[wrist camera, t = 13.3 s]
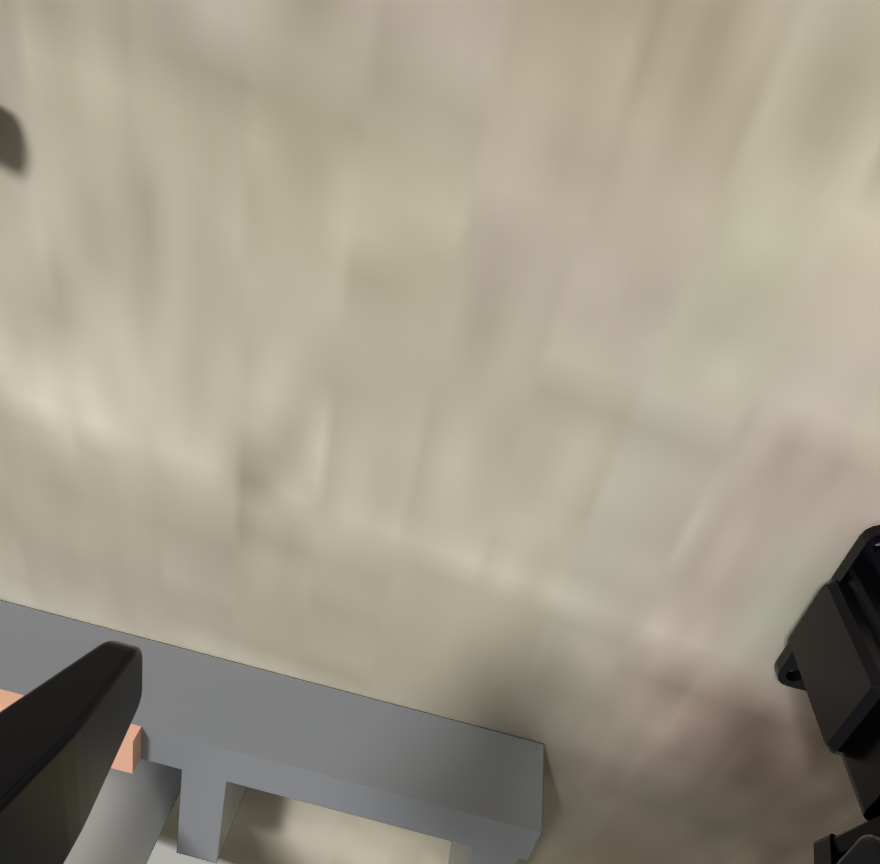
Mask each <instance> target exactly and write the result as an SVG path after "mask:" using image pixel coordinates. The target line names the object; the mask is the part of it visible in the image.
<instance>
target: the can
mask: <svg viewBox="0 0 880 864" xmlns="http://www.w3.org/2000/svg"><path fill="white" fill-rule="evenodd" d="M181 778H182V769H178V768H174V767H171V766H167V765H163V764H159V763H156V762H152V761H148V760H144V759H140V761H139V763H138V765H137V766H136V768H135V770H134V772H133V774H132V773H128V772H124V771H120V770H116V769H113V768H110V771H109V773H108V775H107V777H106V779H105V782H104V784H103V786H102V788H101V790H100V793H99V795H98V797H97V799H96V801H95V804H94V806H93V808H92V810H91V812H90V815H89V817H88V819H87V821H86V823H85V825H84V827H83V829H82V831H81V833H80V835H79V837H78V839H77V840H76V842H75V844H74V846H73V848H72V850H71V851H70V853H69V855H68V857H67V858H66V860H65V862H64V863H63V864H146V863H147V861H148V859H149V857H150V854H151V852H152V850H153V848H154V846H155V844H156V842H157V840H158V838H159V835H160V833H161V831H162V829H163V827H164V825H165V823H166V821H167V818H168V816H169V814H170V812H171V810H172V808H173V806H174V803H175V801H176V799H177V797H178V795H179V793H180V791H181Z"/></svg>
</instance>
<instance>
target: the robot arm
mask: <svg viewBox="0 0 880 864" xmlns="http://www.w3.org/2000/svg"><path fill="white" fill-rule="evenodd" d="M878 542H880V525H878V526H873V527H871V528H869V529H867V530H865V531H864V532H863V533H862V534H861V536H860V537H859V539H858V540H857V542H856V543H855V545H854V546H853V548H852V549H851V551H850V552H849V554H848V555H847V557H846V558H845V560H844V561H843V563H842V564H841V566H840V567H839V569H838V570H837V572H836V573H835V575H834V576H833V578H832V579H831V581H830V582H828V583H827V584H826V585H824V587H823V588H822V590H821V591H820V593H819V594H818V596H817V597H816V599H815V600H814V602H813V603H812V605H811V606H810V608H809V609H808V611H807V612H806V614H805V615H804V617H803V618H802V620H801V621H800V623H799V624H798V626H797V627H796V629H795V630H794V632H793V633H792V635H791V636H790V638H789V644H788V645H787V647H786V648H785V650H784V651H783V653H782V654H781V656H780V657H779V659H778V660H777V662H776V664H775V670H776V673H777V677H778V680H779V681H780V682H781V683H782V684H784V685H786V686H790V687H794V688H797V689H801V690H805V691H807V693H808V696H809V699H810V702H811V705H812V707H813V710H814V713H815V716H816V719H817V722H818V724H819V727H820V730H821V733H822V736H823V739H824V741H825V743H826V745H827V747H828V749H829V750H830V752H831V753H835V754H838V755H841V756H842V759H843V761H844V764H845V767H846V770H847V772H848V775H849V778H850V780H851V783H852V786H853V789H854V791H855V794H856V797H857V799H858V802H859V805H860V808H861V810H862V813H863V816H864V817H865V819H866V820H868V821H866V822H864V823H862V824H860V825H858V826H856V827H854V828H852V829H850V830H847V831H845V832H843V833H841V834H839V835H837V836H836V835H834V834H830V835H828V836H826V837H824V838H822V839H820V840H818V841H816V842H814V864H880V546H874V545H875V544H877V543H878ZM792 670H796V671H792ZM142 671H143V656H142V651H141V649H140V648H139V647H137V646H134V645H130V644H126V643H122V642H118V641H113V640H110V641H106V642H104V643H102V644H100V645H99V646H97V647H96V648H94V649H93V650H91V651H90V652H88V653H87V654H85V655H84V656H82V657H81V658H79V659H78V660H76V661H75V662H73V663H72V664H70V665H69V666H67V667H66V668H64V669H63V670H62V671H60V672H59V673H57V674H56V675H54V676H53V677H51V678H50V679H48V680H47V681H45V682H44V683H42V684H41V685H39V686H38V687H36V688H35V689H33V690H32V691H30V692H29V693H27V694H26V695H24V696H23V697H21V698H20V699H18V700H17V701H15V702H14V703H12V704H11V705H10V706H8V707H7V708H5V709H4V710H2V711H1V712H0V864H63V863H64V862H65V860H66V858H67V857H68V855H69V853H70V851H71V850H72V848H73V846H74V844H75V842H76V840H77V839H78V837H79V835H80V833H81V831H82V829H83V827H84V825H85V823H86V821H87V819H88V817H89V815H90V812H91V810H92V808H93V806H94V804H95V801H96V799H97V797H98V795H99V793H100V790H101V788H102V786H103V784H104V782H105V779H106V777H107V775H108V773H109V771H110V768H111V766H112V764H113V762H114V760H115V758H116V755H117V753H118V751H119V749H120V747H121V744H122V742H123V740H124V738H125V736H126V733H127V731H128V729H129V727H130V725H131V722H132V720H133V718H134V716H135V714H136V711H137V709H138V706H139V703H140V700H141V696H142ZM789 671H792V672H789Z"/></svg>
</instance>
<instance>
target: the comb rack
mask: <svg viewBox="0 0 880 864" xmlns="http://www.w3.org/2000/svg"><path fill="white" fill-rule="evenodd" d="M110 640H113V641H118V642H122V643H126V644H130V645H134V646H137V647H139V648H140V649H141V651H142V656H143V671H142V696H141V700H140V703H139V706H138V709H137V711H136V714H135V716H134V718H133V720H132V722H131V725H130V727H129V729H128V731H127V733H126V736H125V738H124V740H123V742H122V744H121V747H120V749H119V751H118V753H117V755H116V758H115V760H114V762H113V764H112V766H111V768H113V769H116V770H120V771H124V772H128V773H132V774H133V772H134V770H135V768H136V766H137V765H138V763H139V761H140V759H144V760H148V761H152V762H156V763H159V764H163V765H167V766H171V767H174V768H178V769H182V778H181V793H180V809H179V824H178V839H177V853H180V854H184V855H188V856H192V857H195V858H199V859H203V860H207V861H210V862H214V863H217V861H218V858H219V855H220V853H221V850H222V848H223V845H224V843H225V840H226V838H227V835H228V833H229V830H230V827H231V825H232V822H233V820H234V817H235V815H236V812H237V810H238V807H239V805H240V802H241V799H242V797H243V794H244V792H245V789H246V787H250V788H253V789H257V790H261V791H265V792H268V793H272V794H276V795H280V796H284V797H287V798H291V799H295V800H299V801H302V802H306V803H310V804H314V805H317V806H321V807H325V808H329V809H332V810H336V811H340V812H344V813H348V814H351V815H355V816H359V817H363V818H366V819H370V820H374V821H378V822H381V823H385V824H389V825H393V826H396V827H400V828H404V829H408V830H411V831H415V832H419V833H423V834H427V835H430V836H434V837H438V838H442V839H445V840H449V841H451V848H450V856H449V864H516V863H517V861H518V859H521V860H524V861H527V860H528V858H529V856H530V855H531V853H532V851H533V849H534V847H535V845H536V843H537V841H538V839H539V837H540V835H541V833H542V797H543V749H544V744H541V743H537V742H533V741H530V740H526V739H522V738H518V737H514V736H511V735H507V734H503V733H499V732H496V731H492V730H488V729H484V728H480V727H477V726H473V725H469V724H465V723H462V722H458V721H454V720H450V719H447V718H443V717H439V716H435V715H431V714H428V713H424V712H420V711H416V710H413V709H409V708H405V707H401V706H398V705H394V704H390V703H386V702H382V701H379V700H375V699H371V698H367V697H364V696H360V695H356V694H352V693H348V692H345V691H341V690H337V689H333V688H330V687H326V686H322V685H318V684H315V683H311V682H307V681H303V680H299V679H296V678H292V677H288V676H284V675H281V674H277V673H273V672H269V671H266V670H262V669H258V668H254V667H250V666H247V665H243V664H239V663H235V662H232V661H228V660H224V659H220V658H216V657H213V656H209V655H205V654H201V653H198V652H194V651H190V650H186V649H183V648H179V647H175V646H171V645H167V644H164V643H160V642H156V641H152V640H149V639H145V638H141V637H137V636H133V635H130V634H126V633H122V632H118V631H115V630H111V629H107V628H103V627H100V626H96V625H92V624H88V623H84V622H81V621H77V620H73V619H69V618H66V617H62V616H58V615H54V614H51V613H47V612H43V611H39V610H35V609H32V608H28V607H24V606H20V605H17V604H13V603H9V602H5V601H1V600H0V712H1V711H2V710H4V709H5V708H7V707H8V706H10V705H11V704H12V703H14V702H15V701H17V700H18V699H20V698H21V697H23V696H24V695H26V694H27V693H29V692H30V691H32V690H33V689H35V688H36V687H38V686H39V685H41V684H42V683H44V682H45V681H47V680H48V679H50V678H51V677H53V676H54V675H56V674H57V673H59V672H60V671H62V670H63V669H64V668H66V667H67V666H69V665H70V664H72V663H73V662H75V661H76V660H78V659H79V658H81V657H82V656H84V655H85V654H87V653H88V652H90V651H91V650H93V649H94V648H96V647H97V646H99V645H100V644H102V643H104V642H106V641H110Z"/></svg>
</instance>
